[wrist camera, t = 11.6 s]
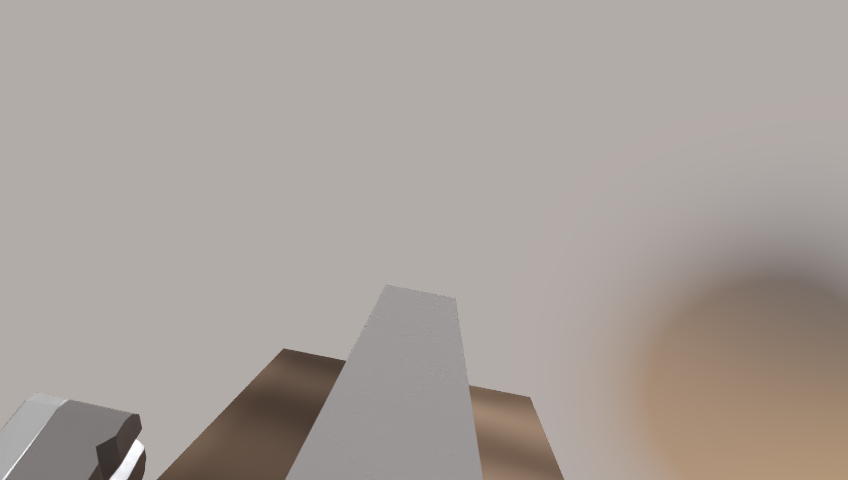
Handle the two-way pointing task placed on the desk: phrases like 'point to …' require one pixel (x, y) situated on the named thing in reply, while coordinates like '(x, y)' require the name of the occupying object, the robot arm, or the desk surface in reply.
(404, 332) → the block
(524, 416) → the pedestal
